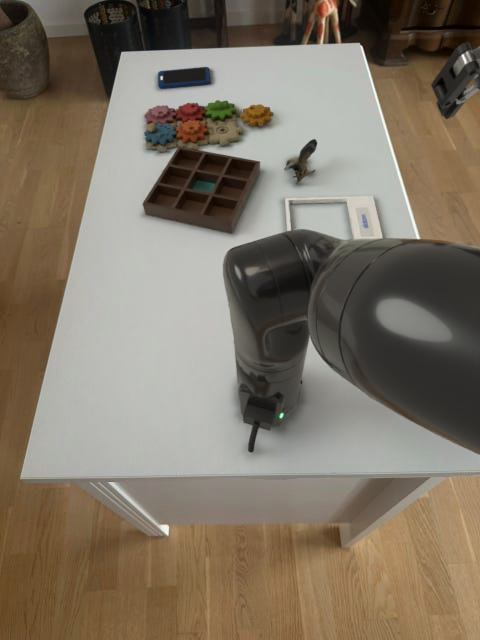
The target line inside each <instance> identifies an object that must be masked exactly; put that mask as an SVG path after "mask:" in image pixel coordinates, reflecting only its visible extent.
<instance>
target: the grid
mask: <svg viewBox="0 0 480 640" xmlns="http://www.w3.org/2000/svg"><path fill="white" fill-rule="evenodd" d="M260 174H261V161H259V160H253V159H250V158H243V157H237V156H232V155H228V154H221V153H216V152H211V151H205V150H200V149H190V148H188V147H179V146H178V147H176V150H175V151H174V153H173V155H172V156H171V158H170V159H169V161H168V162H167V164H166V165H165V167H164V169H163V171H161V174H160V175H159V177H158V178H157V180H156V182H154V184H153V186H152V187H151V188H150V189H151V190H150V191H149V193H148V194H147V196H146V197H145V199H144V201H143V202H142V207H143V211H144V214H145V215H146V216H150V217H155V218H158V219H163V220H168V221H171V222H178V223H182V224H186V225H191V226H195V227H200V228H204V229H209V230H212V231H213V230H214V231H218V232H221V233H227V234H231V235H232V234H233V233H234V231H235V229H236V226H237V224H238V221H239V220H240V218H241V215H242V213H243V211H244V209H245V206H246V204H247V202H248V200H249V197H250V196H251V193H252V191H253V189H254V187H255V185H256V182H257V180H258V178H259V176H260Z"/></svg>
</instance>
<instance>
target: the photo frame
mask: <svg viewBox="0 0 480 640" xmlns="http://www.w3.org/2000/svg"><path fill="white" fill-rule="evenodd" d="M325 203H326V204H327V203H328V204H329V203H346V207H347V212H348V213H347V214H348V217H349V223H350V228H351V233H352V239H378V238H384V237H383V236H384V235H383V232H382V229H381V228H382V227H381V224H380V220H379V219H380V218H379V215H378V212H377V207H376V202H375V199H374V195H353V196H350V195H348V196H346V195H345V196H319V197H318V196H315V197H310V196H309V197H284V207H285V208H284V209H285V221H286V231H291V230H292V224H291V214H290V205H291V204H293V205H294V204H295V205H296V204H325Z"/></svg>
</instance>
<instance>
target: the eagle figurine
mask: <svg viewBox="0 0 480 640" xmlns="http://www.w3.org/2000/svg"><path fill="white" fill-rule="evenodd" d="M317 147H318V142H317V139H316V138H313V139H310V140H309V141H308V142H307V143H306V144H305V145H304V146H303V147H302V148H301V150H300V151H299V154H298V157H297V156H296V157H293V158H290V159H288V160H287V161H286V163H285V166H284V167H283V171H284V172H285V171H289V170H291V169H293V171H294V174H295V175H293V176H292V178H293V179H296V182H295V185H299V183H300V182H301V181H302V180H303V179H304V178H305V177H307V176H308V175H312V174H314V173H315V172H316V170H317V169H313V170H311V168H309V167H308V166H307V161H308V160H309V158H311V156H312V154H314V153H315V152H316V150H317Z"/></svg>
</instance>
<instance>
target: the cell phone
mask: <svg viewBox="0 0 480 640" xmlns="http://www.w3.org/2000/svg"><path fill="white" fill-rule="evenodd" d="M211 81H212V79H211V70H210V67H208V66H202V67H201V66H200V67H189V68H179V69H167V70H160V71H158V73H157V85H158V88H159V89H169V88H180V87H190V86H192V87H193V86H203V85H209V84H211Z"/></svg>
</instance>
